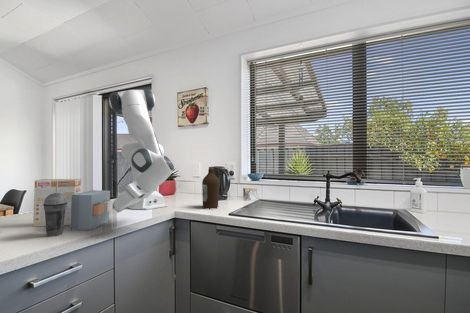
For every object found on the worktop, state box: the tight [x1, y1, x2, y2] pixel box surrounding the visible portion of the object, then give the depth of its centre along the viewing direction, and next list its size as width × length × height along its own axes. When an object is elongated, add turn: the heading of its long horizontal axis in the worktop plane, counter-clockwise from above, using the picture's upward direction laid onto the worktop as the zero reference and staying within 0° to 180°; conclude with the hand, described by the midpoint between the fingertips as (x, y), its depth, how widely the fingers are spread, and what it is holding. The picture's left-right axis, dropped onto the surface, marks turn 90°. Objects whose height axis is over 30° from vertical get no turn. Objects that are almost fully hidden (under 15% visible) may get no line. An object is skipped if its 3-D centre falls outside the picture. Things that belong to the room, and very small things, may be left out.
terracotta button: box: [93, 204, 104, 215], centre depth 96 cm, size 6×4×4 cm, turn 91°
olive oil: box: [201, 166, 220, 210], centre depth 141 cm, size 11×11×25 cm
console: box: [70, 189, 111, 231], centre depth 99 cm, size 8×14×14 cm, turn 1°
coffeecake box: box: [32, 178, 82, 228], centre depth 100 cm, size 15×7×20 cm, turn 105°
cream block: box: [103, 200, 114, 212], centre depth 103 cm, size 6×4×4 cm, turn 91°
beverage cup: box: [43, 181, 67, 237], centre depth 86 cm, size 7×7×20 cm
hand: (118, 210), depth 96 cm, fingers closed
